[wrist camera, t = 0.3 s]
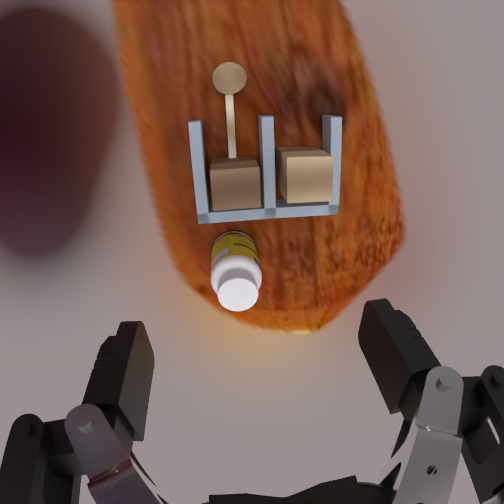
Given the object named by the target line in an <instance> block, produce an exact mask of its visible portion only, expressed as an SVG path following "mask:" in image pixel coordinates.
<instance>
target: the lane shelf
mask: <svg viewBox="0 0 504 504" xmlns="http://www.w3.org/2000/svg"><path fill="white" fill-rule="evenodd" d="M258 124H259V149H260V176H261V207H258V208H245V209H231V210H219V211H213V203H212V204H210V203H209V193H208V182H207V171H206V160H205V148H204V135H203V122H202V119H200V120H191V121H190V122H188V125H189V137H190V148H191V159H192V169H193V179H194V188H195V197H196V206H197V215H198V223H199V224H207V223H219V222H232V221H245V220H258V219H272V218H287V217H303V216H320V215H338V210H339V193H340V173H341V142H342V117H338V116H333V115H322V150H323V151H325V152H327V153H328V154H330V155H332V156H334V161H333V188H332V201H324V202H304V203H287V202H286V200H285V199H284V198H282V199H276V195H275V150H274V117H273V116H270V115H258Z"/></svg>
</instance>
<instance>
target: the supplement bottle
mask: <svg viewBox="0 0 504 504" xmlns="http://www.w3.org/2000/svg"><path fill="white" fill-rule="evenodd" d="M261 281H262V274H261V269H260V265H259V260H258V256H257V251H256V247H255V244H254V242H253V240H252V239H251V238H250V237H249V236H248V235H246V234H245V233H242V232H238V231H230V232H226V233H224V234H222V235H221V236H219V237H218V238H217V239H216V241H215V242H214V244H213V248H212V261H211V284H212V287H213V289H214V290H215V292H216V293H217V294H218V300H219V302H220V303H221V305H222V306H224V307H225V308H227V309H229V310H232V311H243V310H246V309H248V308H250V307H252V306H253V305H254V304H255V302H256V301H257V299H258V289H259V288H260V285H261Z"/></svg>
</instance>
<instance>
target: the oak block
mask: <svg viewBox="0 0 504 504" xmlns="http://www.w3.org/2000/svg"><path fill="white" fill-rule="evenodd" d="M276 149H277V187H278V188H279V190H280V192H281V194H282V195H283V197H284V199H285V200H286V202H287V203H304V202H324V201H332V188H333V161H334V156H332V155H330V154H328V153H327V152H325V151H323V150H322V149H320V148H318V147H316V146H312V147H276Z"/></svg>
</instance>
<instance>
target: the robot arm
mask: <svg viewBox="0 0 504 504" xmlns="http://www.w3.org/2000/svg"><path fill="white" fill-rule="evenodd" d="M358 339H359V344H360V347H361V350H362V352H363V354H364V356H365V358H366V360H367V363H368V365H369V367H370V369H371V371H372V373H373V376H374V378H375V380H376V382H377V384H378V387H379V389H380V391H381V394H382V396H383V398H384V400H385V403H386V405H387V408H388V410H389V412H390V414H394V413H397V412H402V415H403V418H402V420H401V423H400V426H399V429H398V432H397V435H396V438H395V440H394V443H393V446H392V449H391V451H390V454H389V457H388V459H387V462H386V464H385V466H384V467H383V469H382V471H381V473H380V475H379V476H378V478H377V480H376V482H375V484H374V483H367V482H357V479H356V476H355V475H354V476H350V477H346V478H342V479H338V480H333V481H329V482H324V483H320V484H318V485H316V486H313V487H311V488H309V489H306V490H304V491H301V492H299V493H296V494H294V495H291V496H288V497H282V498H281V497H271V496H262V495H254V494H247V493H244V494H226V495H209V502H206V503H202V504H448V501H449V497H450V494H451V490H452V487H453V483H454V479H455V475H456V471H457V466H458V463H459V457H460V453H462V455H463V458H464V460H465V463H466V466H467V468H468V471H469V474H470V476H471V479H472V482H473V484H474V488H475V490H476V493H477V496H478V499H479V502H480V504H504V368H502V367H500V366H495V365H493V366H489V367H487V368H485V370H484V371H483V373H482V374H481V376H475V377H461V376H460V374H459V373H458V372H457V371H455V370H454V369H452V368H450V367H446V366H441V364H440V363H439V361H438V360H437V358H436V357H435V355H434V353H433V352H432V350H431V349H430V347H429V346H428V344H427V343H426V341H425V340H424V338H423V337H422V336H421V334H420V332H419V330H417V329H416V326H415V325H414V323H413V322H412V320H411V319H410V317H408V316H407V315H406V314H404V313H403V312H402V311H400V310H396V311H395V310H394V309H393V307H392V305H391V304H390V302H389V301H388V300H387V299H385V298H384V299H378V300H372V301H367V302H366V303H365V305H364V310H363V314H362V319H361V323H360V328H359V332H358ZM153 370H154V354H153V350H152V347H151V344H150V341H149V339H148V335H147V333H146V330H145V327H144V324H143V323H142V321H125V322H121V323H120V325H119V328H118V331H117V334H116V336H109V337H108V338H107V339H106V340H105V342H104V343H103V344H102V345H101V347H100V349H99V352H98V355H97V360H96V361H95V364H94V369H93V370H92V373H91V376H90V379H89V382H88V385H87V389H86V392H85V395H84V399H83V402H82V404H81V405H79V406H77V407H75V408H73V409H72V410H71V411H70V412H69V413H68V415H67V416H66V418H65V419H61V420H55V421H50V422H44V423H43V422H42V421H41V419H40V418H39V417H38V416H36V415H34V414H24V415H22V416H20V417H18V418H17V419H16V420H15V421H14V423H13V425H12V427H11V430H10V434H9V437H8V441H7V444H6V448H5V452H4V456H3V460H2V464H1V468H0V504H79V494H80V484H81V475H87V477H88V479H89V483H88V484H87V485H88V489H89V491H90V493H91V495H92V497H93V499H94V500H95V502H96V504H172V502H171V501H170V500H169V499H168V498H167V497H166V496H165V495H164V493H163V492H162V491H161V490H160V489H159V487H158V486H157V485H156V484H155V483H154V481H153V480H152V478H151V477H150V476H149V474H148V473H147V471H146V470H145V469H144V467H143V466H142V465H141V463H140V462H139V460H138V459H137V458H136V456H135V454H134V453H133V451H132V445H133V441H143V439H144V431H145V424H146V415H147V409H148V402H149V395H150V389H151V383H152V376H153ZM489 418H490V420H491V422H492V424H493V426H494V428H495V430H496V432H497V434H498V436H499V440H500V444H499V445H498V442H497V440H496V438H495V436H494V434H493V432H492V429H491V427H490V425H489V423H488V421H487V420H488V419H489Z"/></svg>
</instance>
